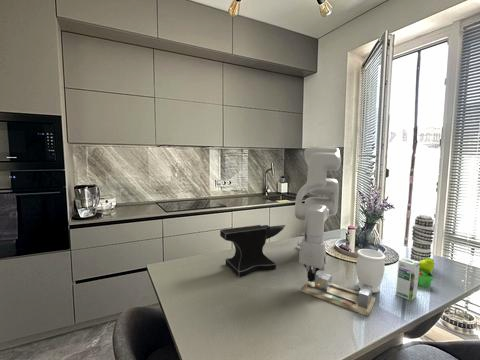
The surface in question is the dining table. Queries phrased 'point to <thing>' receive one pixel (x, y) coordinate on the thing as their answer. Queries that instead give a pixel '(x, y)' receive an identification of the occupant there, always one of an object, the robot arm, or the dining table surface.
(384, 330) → the dining table surface
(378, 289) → the jar
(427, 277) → the fruit basket
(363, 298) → the gauge hardware
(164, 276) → the dining table surface
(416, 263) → the syrup box
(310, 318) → the dining table surface
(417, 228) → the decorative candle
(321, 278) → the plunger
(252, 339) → the dining table surface
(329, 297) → the gauge board
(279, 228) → the anvil
